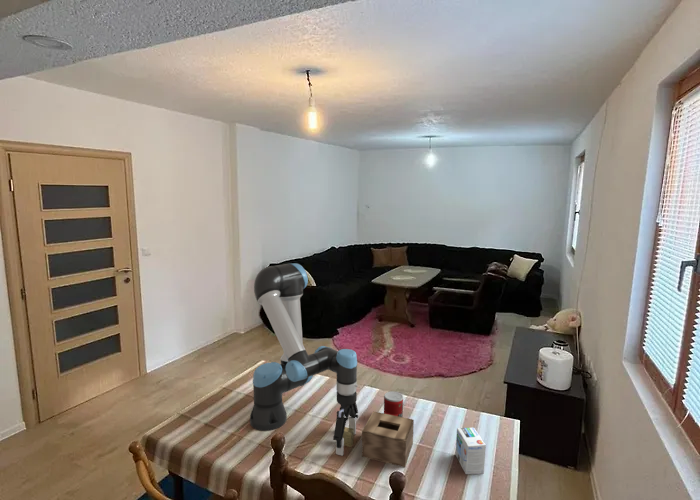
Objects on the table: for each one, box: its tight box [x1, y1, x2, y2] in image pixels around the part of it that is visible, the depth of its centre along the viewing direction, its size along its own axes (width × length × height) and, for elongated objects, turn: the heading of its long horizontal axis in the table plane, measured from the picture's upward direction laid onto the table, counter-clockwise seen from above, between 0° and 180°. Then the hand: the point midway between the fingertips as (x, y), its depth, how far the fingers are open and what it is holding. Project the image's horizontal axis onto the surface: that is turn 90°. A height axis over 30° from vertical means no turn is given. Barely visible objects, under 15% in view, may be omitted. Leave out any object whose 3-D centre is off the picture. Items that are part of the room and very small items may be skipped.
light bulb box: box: [455, 427, 487, 475], centre depth 138 cm, size 11×7×11 cm, turn 5°
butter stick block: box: [343, 426, 354, 448], centre depth 149 cm, size 5×2×6 cm, turn 70°
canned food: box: [383, 390, 404, 418], centre depth 165 cm, size 8×8×11 cm
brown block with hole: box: [361, 411, 415, 468], centre depth 145 cm, size 16×14×10 cm
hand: (346, 443), depth 150 cm, fingers open, 13 cm apart
